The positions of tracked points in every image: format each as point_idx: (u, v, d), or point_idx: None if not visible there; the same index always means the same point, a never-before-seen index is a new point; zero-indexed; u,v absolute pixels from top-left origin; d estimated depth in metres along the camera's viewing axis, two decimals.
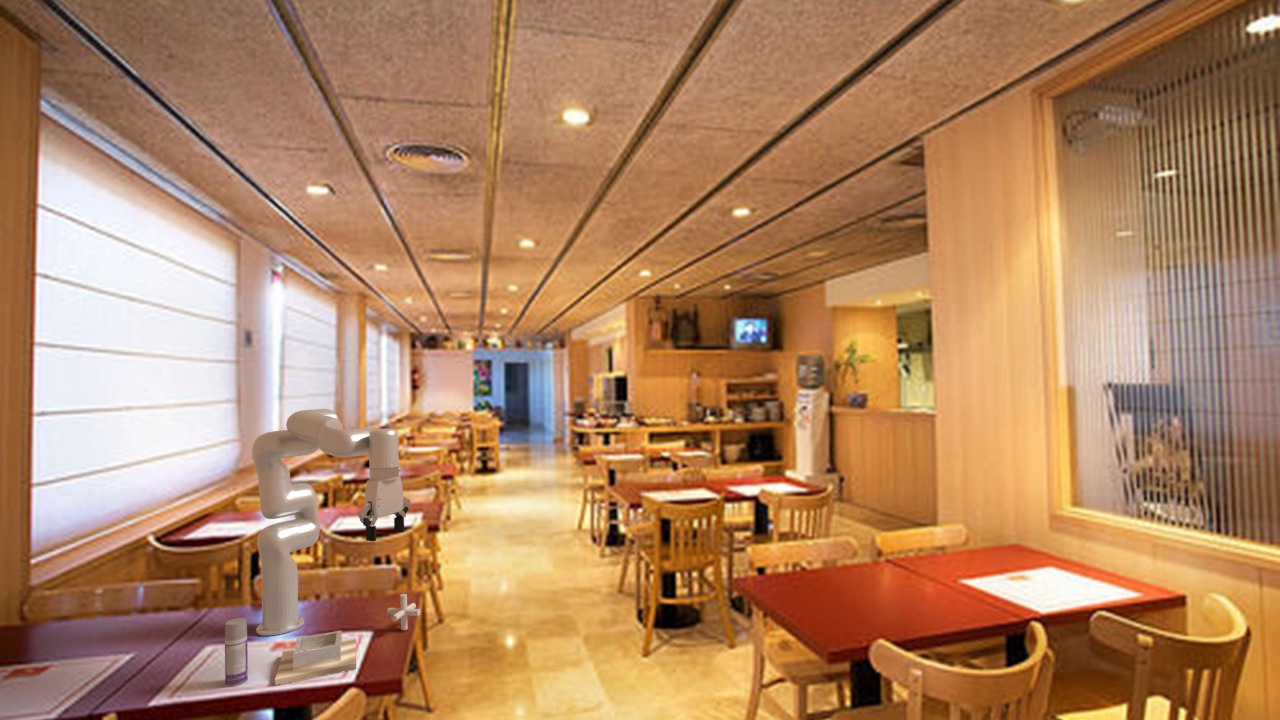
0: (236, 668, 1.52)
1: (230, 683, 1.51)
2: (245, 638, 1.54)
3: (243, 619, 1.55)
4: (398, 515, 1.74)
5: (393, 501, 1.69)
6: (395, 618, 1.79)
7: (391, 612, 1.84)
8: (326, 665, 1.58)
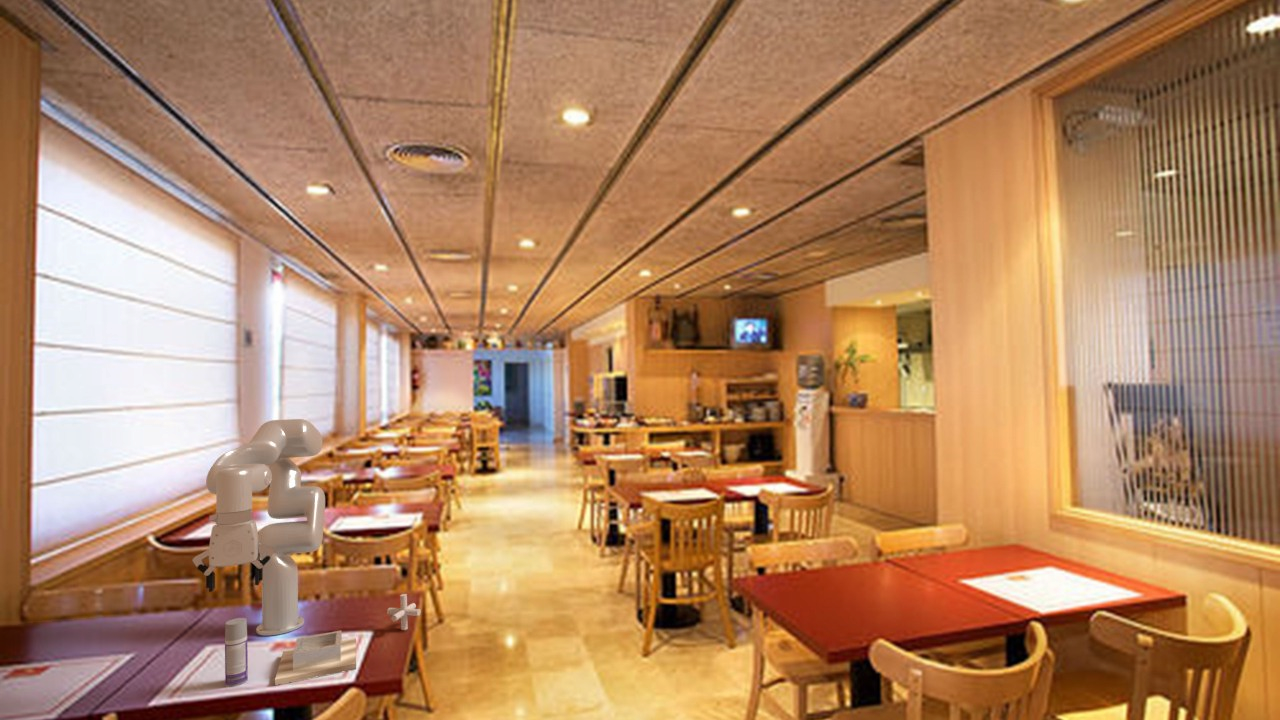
0: (236, 668, 1.52)
1: (230, 683, 1.51)
2: (245, 638, 1.54)
3: (243, 619, 1.55)
4: None
5: None
6: (395, 618, 1.79)
7: (391, 612, 1.84)
8: (326, 665, 1.58)
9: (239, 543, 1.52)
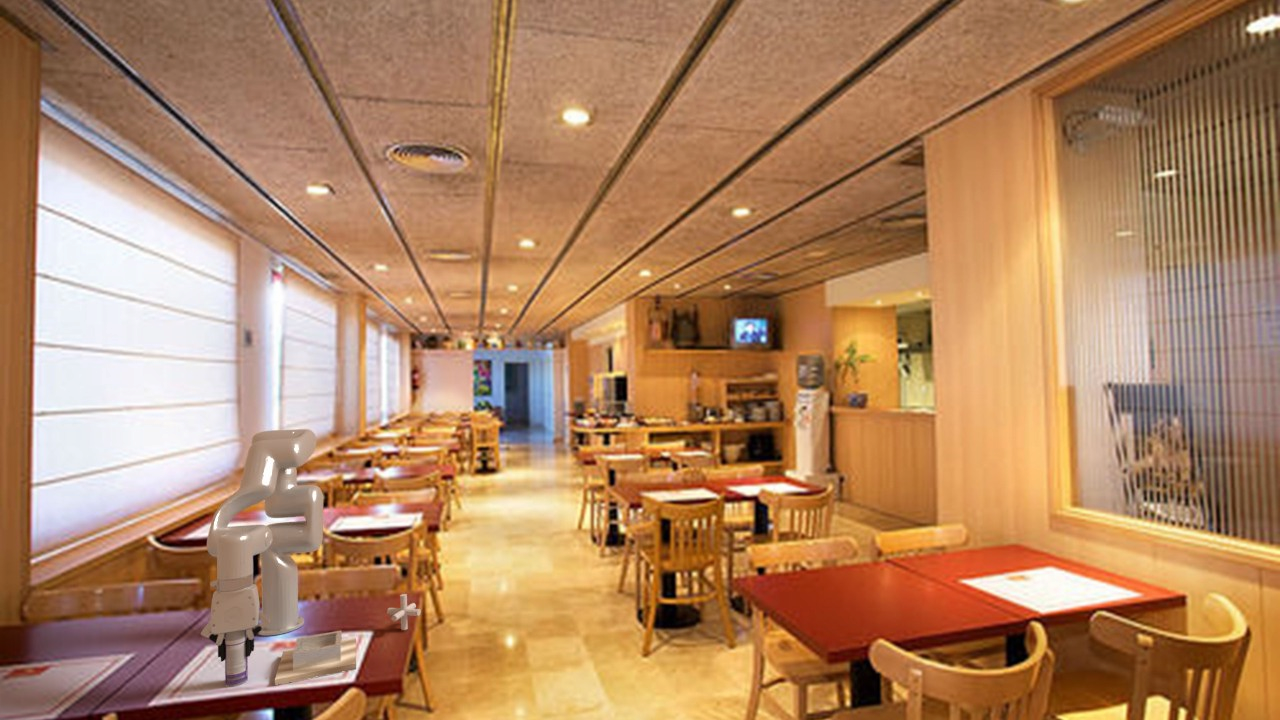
0: (236, 668, 1.52)
1: (230, 683, 1.51)
2: (245, 638, 1.54)
3: None
4: (222, 639, 1.52)
5: None
6: (395, 618, 1.79)
7: (391, 612, 1.84)
8: (326, 665, 1.58)
9: (240, 609, 1.52)
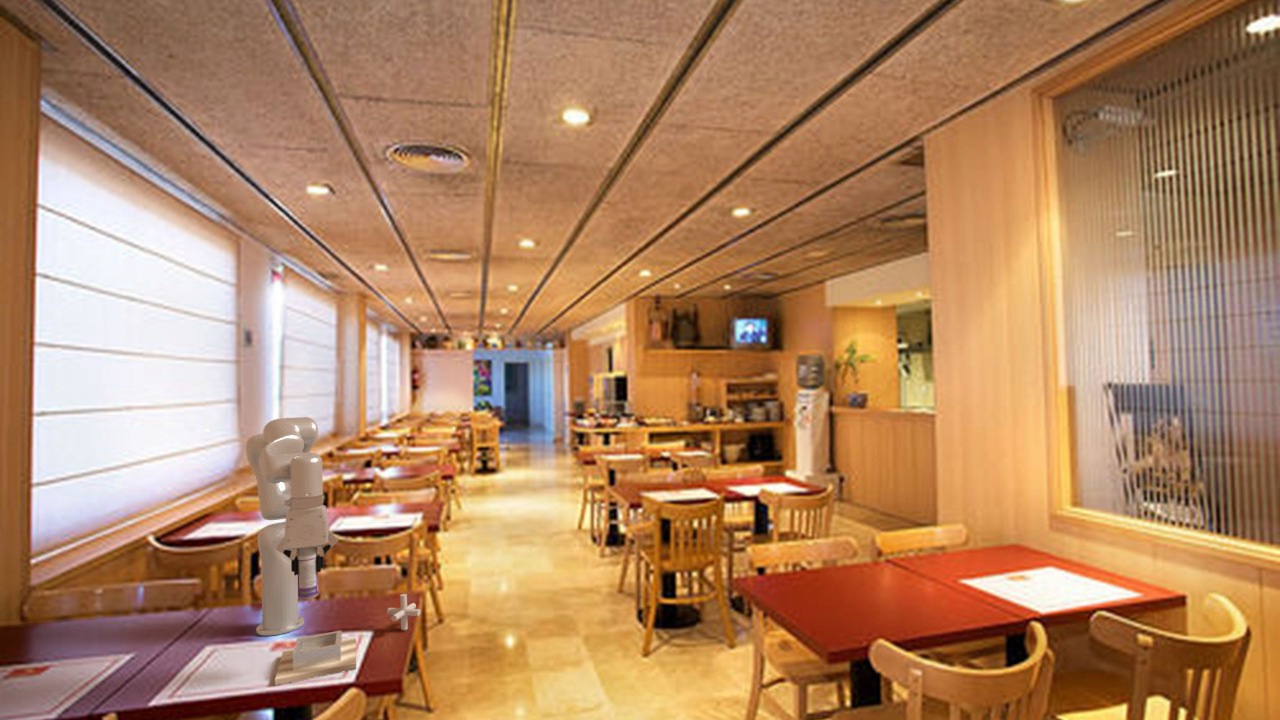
0: (308, 582, 1.60)
1: (303, 596, 1.60)
2: (316, 555, 1.62)
3: None
4: (295, 554, 1.61)
5: None
6: (395, 618, 1.79)
7: (391, 612, 1.84)
8: (326, 665, 1.58)
9: (312, 527, 1.61)
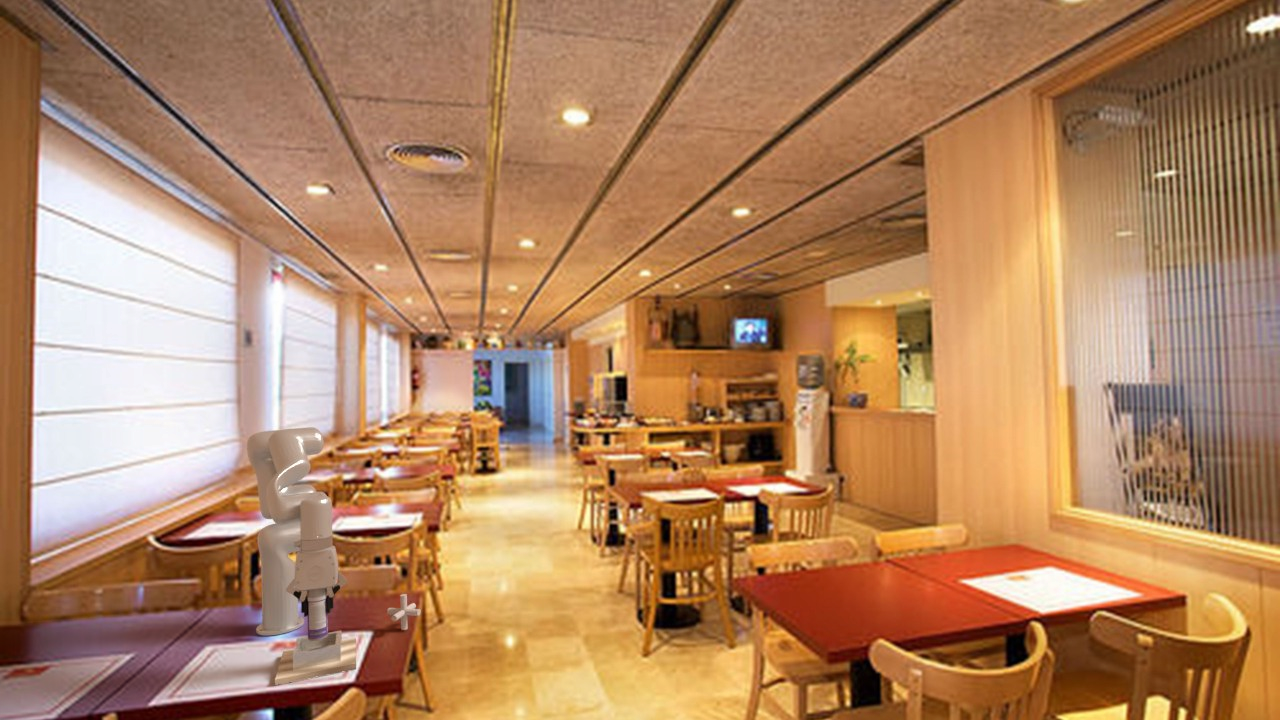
0: (318, 623, 1.61)
1: (312, 637, 1.61)
2: (325, 596, 1.63)
3: None
4: (305, 596, 1.62)
5: None
6: (395, 618, 1.79)
7: (391, 612, 1.84)
8: (326, 665, 1.58)
9: (321, 568, 1.61)
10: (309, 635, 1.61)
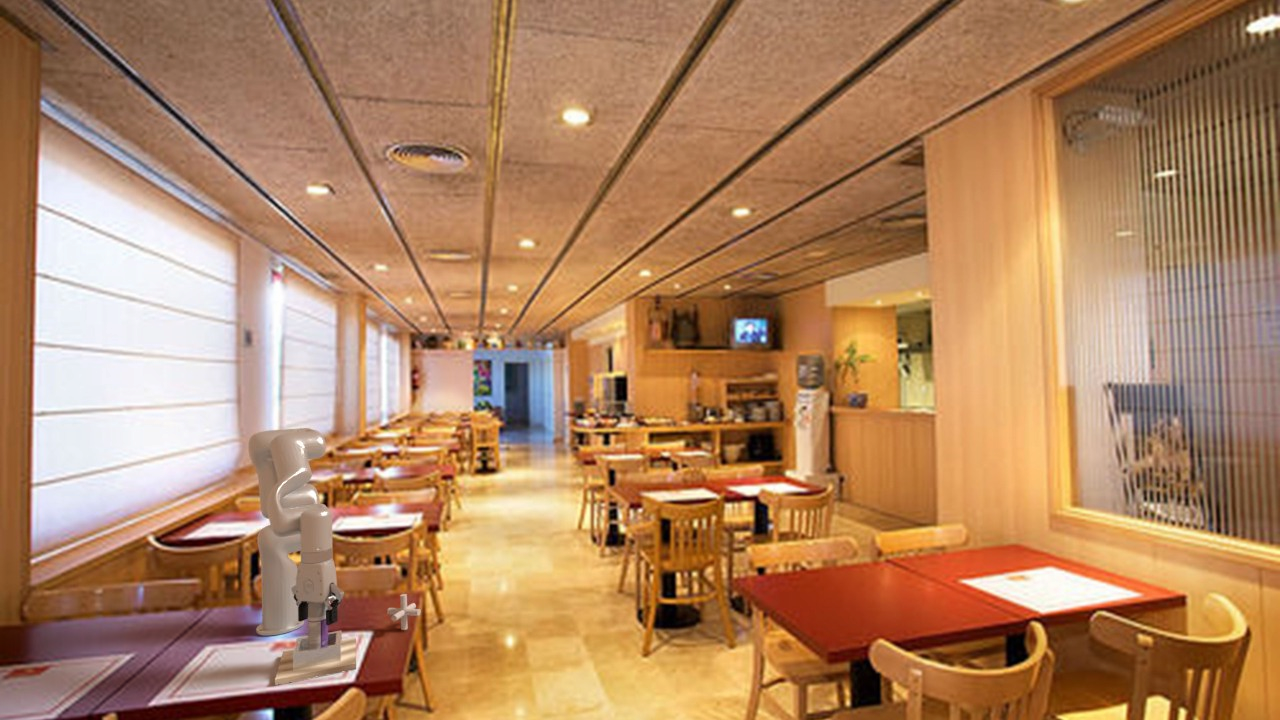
0: (311, 644, 1.61)
1: None
2: (321, 618, 1.62)
3: None
4: (303, 602, 1.65)
5: None
6: (395, 618, 1.79)
7: (391, 612, 1.84)
8: (326, 665, 1.58)
9: (312, 582, 1.60)
10: None
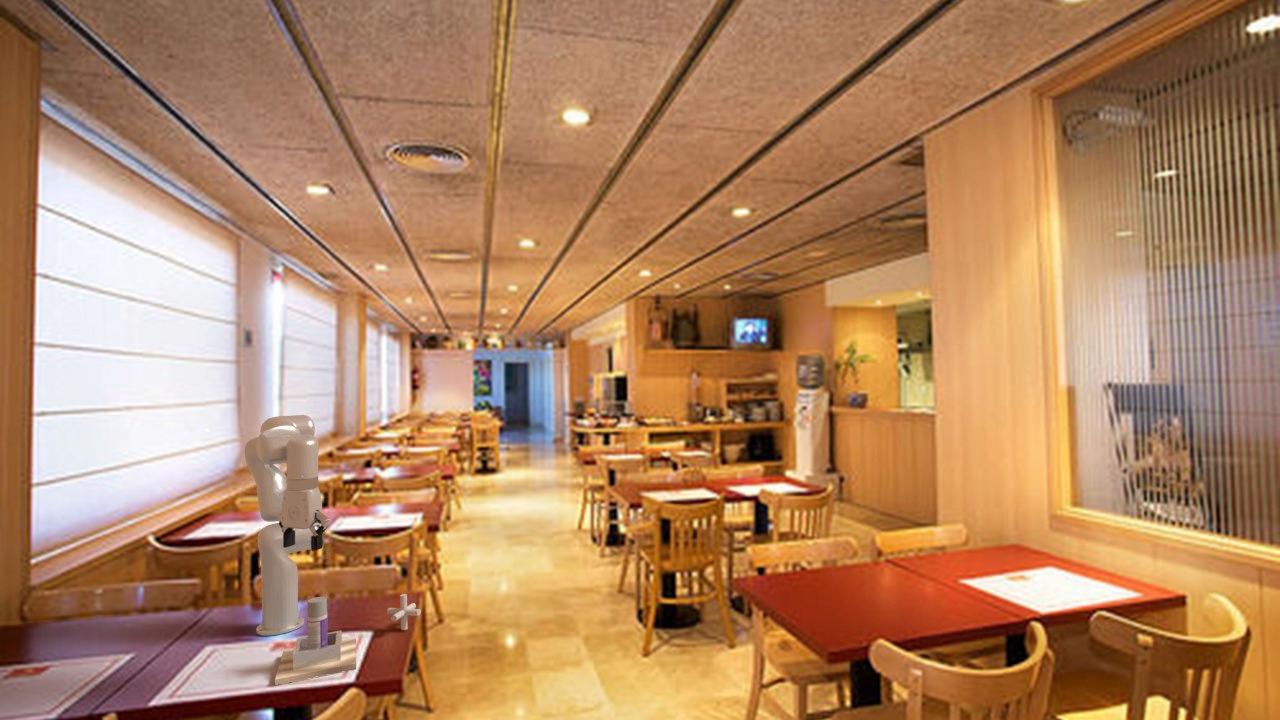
0: (311, 644, 1.61)
1: None
2: (320, 618, 1.62)
3: (323, 599, 1.63)
4: (288, 529, 1.67)
5: None
6: (395, 618, 1.79)
7: (391, 612, 1.84)
8: (326, 665, 1.58)
9: (297, 509, 1.62)
10: None
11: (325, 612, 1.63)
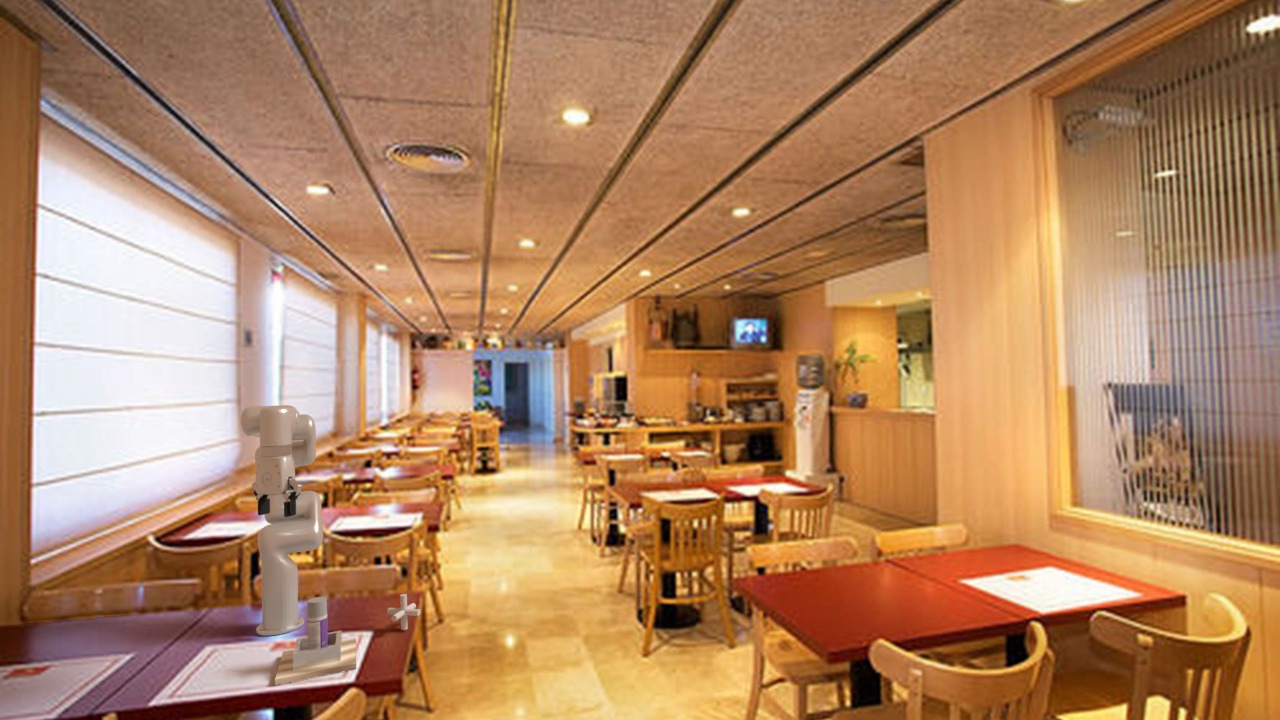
0: (311, 644, 1.61)
1: None
2: (320, 618, 1.62)
3: (323, 599, 1.63)
4: (263, 497, 1.70)
5: None
6: (395, 618, 1.79)
7: (391, 612, 1.84)
8: (326, 665, 1.58)
9: (270, 475, 1.65)
10: None
11: (325, 612, 1.63)
